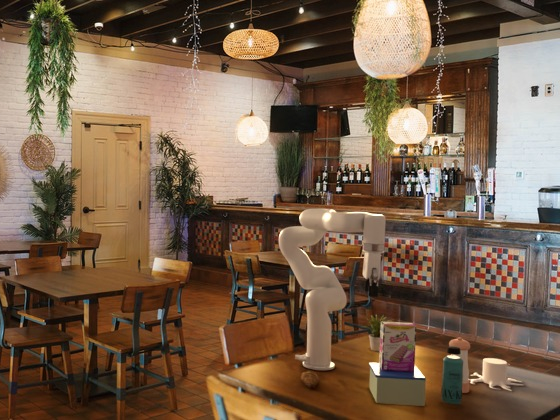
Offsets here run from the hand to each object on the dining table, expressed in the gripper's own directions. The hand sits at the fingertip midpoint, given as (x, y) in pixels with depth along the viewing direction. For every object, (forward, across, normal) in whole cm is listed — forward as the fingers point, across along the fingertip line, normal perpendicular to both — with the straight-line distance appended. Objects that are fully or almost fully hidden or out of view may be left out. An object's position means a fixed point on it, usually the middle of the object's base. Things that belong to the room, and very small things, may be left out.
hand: (371, 294), depth 238 cm
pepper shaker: (+33, 0, +32) cm, 46 cm away
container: (+33, +14, +8) cm, 37 cm away
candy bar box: (+24, +13, +8) cm, 28 cm away
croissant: (+34, +5, -21) cm, 40 cm away
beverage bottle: (+33, +18, +25) cm, 45 cm away
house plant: (+35, -50, +12) cm, 62 cm away
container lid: (+25, +13, +8) cm, 29 cm away
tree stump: (+33, -13, +48) cm, 60 cm away
